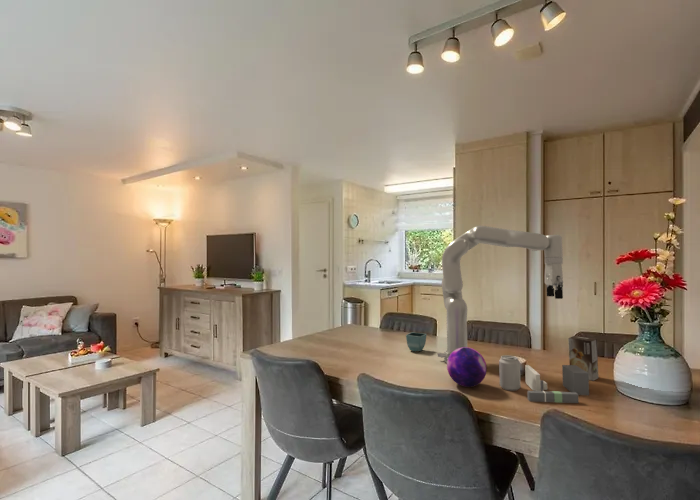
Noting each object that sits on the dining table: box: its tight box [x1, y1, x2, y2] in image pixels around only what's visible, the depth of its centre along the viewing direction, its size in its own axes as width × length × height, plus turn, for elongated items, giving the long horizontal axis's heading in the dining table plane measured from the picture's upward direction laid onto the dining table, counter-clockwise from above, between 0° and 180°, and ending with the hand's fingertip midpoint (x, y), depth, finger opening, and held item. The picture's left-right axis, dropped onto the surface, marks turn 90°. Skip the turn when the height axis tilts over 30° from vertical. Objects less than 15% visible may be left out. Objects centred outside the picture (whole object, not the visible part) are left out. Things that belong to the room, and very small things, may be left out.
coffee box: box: [568, 335, 599, 381], centre depth 155 cm, size 9×6×16 cm
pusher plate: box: [524, 364, 548, 391], centre depth 140 cm, size 6×16×7 cm, turn 172°
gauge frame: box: [526, 364, 590, 404], centre depth 137 cm, size 23×18×8 cm
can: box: [498, 354, 521, 392], centre depth 143 cm, size 8×8×12 cm
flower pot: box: [405, 331, 427, 352], centre depth 203 cm, size 9×9×9 cm
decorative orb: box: [446, 346, 487, 388], centre depth 147 cm, size 15×15×15 cm
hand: (554, 297), depth 174 cm, fingers open, 9 cm apart
